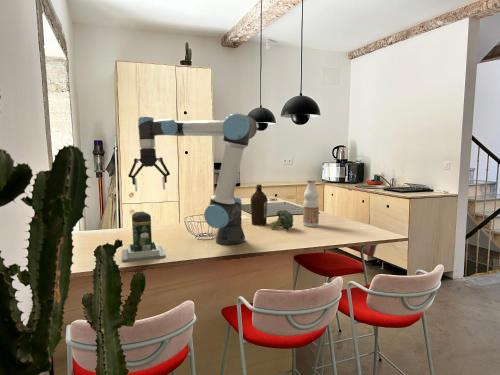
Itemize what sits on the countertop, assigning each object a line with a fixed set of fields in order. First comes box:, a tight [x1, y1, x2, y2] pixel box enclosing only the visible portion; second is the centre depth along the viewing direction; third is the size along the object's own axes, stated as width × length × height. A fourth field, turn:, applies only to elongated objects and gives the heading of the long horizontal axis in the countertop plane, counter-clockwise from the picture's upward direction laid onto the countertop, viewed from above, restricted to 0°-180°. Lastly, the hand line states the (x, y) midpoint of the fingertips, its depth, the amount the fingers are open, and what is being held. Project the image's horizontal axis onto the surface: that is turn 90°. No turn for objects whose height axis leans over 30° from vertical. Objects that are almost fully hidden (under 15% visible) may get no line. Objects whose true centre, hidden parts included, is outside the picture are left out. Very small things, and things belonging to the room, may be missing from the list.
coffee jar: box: [131, 211, 153, 252], centre depth 161 cm, size 10×8×19 cm
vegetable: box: [269, 209, 294, 231], centre depth 211 cm, size 12×13×15 cm
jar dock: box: [121, 241, 166, 263], centre depth 162 cm, size 18×16×4 cm
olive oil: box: [250, 184, 268, 226], centre depth 224 cm, size 11×11×25 cm
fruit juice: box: [302, 179, 320, 228], centre depth 219 cm, size 9×9×28 cm
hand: (150, 190), depth 180 cm, fingers open, 13 cm apart
